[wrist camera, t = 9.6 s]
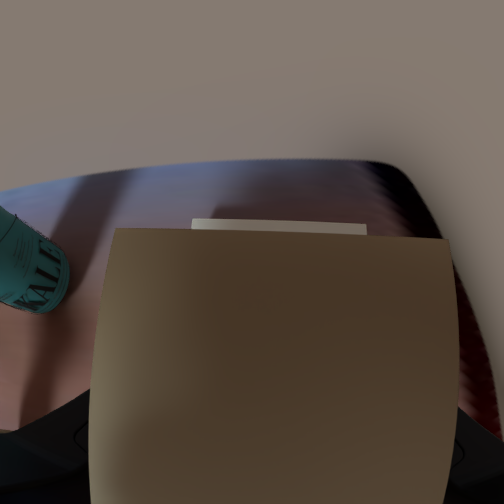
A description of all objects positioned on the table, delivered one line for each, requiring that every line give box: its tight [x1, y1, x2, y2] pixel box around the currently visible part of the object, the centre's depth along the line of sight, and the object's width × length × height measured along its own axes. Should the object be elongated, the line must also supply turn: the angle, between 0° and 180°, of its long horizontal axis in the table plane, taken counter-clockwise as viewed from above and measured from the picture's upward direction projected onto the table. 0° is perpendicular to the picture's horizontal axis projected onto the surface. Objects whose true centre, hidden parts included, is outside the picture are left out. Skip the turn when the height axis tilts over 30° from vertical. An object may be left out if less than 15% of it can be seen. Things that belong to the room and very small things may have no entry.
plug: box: [89, 228, 459, 504], centre depth 8 cm, size 4×4×12 cm
